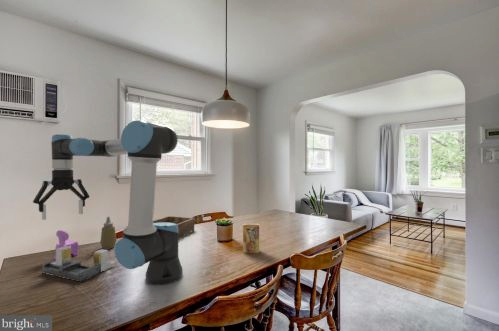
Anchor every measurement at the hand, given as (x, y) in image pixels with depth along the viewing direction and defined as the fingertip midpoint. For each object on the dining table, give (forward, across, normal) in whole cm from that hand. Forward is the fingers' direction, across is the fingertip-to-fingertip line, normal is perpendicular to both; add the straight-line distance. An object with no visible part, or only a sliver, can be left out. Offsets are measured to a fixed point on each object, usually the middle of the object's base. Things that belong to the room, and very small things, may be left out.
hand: (63, 216), depth 108 cm
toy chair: (+25, -7, -19) cm, 32 cm away
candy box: (+26, -70, +54) cm, 92 cm away
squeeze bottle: (+25, -26, -17) cm, 40 cm away
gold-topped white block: (+25, -12, +11) cm, 30 cm away
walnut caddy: (+25, -61, -10) cm, 67 cm away
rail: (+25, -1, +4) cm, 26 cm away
